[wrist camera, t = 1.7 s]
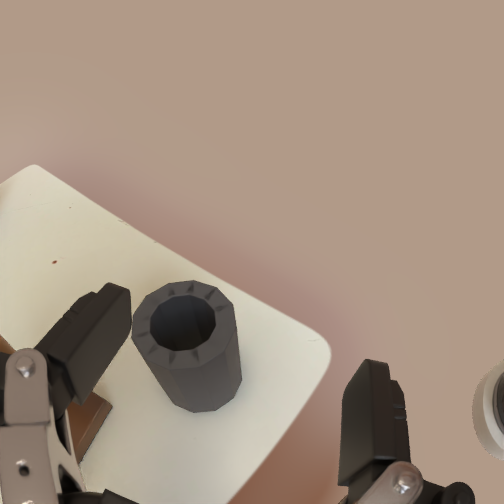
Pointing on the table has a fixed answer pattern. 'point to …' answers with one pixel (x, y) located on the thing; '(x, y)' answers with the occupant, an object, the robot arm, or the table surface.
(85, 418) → the rack
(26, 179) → the table surface
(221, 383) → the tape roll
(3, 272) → the table surface
